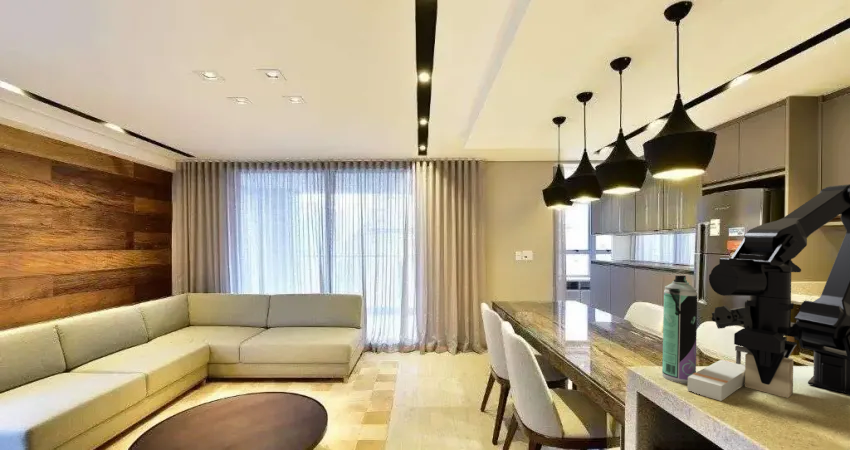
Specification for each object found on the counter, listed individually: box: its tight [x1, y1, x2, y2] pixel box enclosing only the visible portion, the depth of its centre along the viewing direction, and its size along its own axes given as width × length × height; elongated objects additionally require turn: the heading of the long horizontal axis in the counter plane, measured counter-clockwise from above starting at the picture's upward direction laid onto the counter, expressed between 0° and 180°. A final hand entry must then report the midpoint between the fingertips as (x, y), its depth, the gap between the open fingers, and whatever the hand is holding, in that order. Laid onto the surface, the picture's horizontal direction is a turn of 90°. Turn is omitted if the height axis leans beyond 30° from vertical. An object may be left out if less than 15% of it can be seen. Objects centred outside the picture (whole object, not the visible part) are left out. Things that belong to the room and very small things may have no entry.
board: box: [687, 359, 745, 402], centre depth 74 cm, size 18×5×3 cm, turn 128°
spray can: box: [661, 275, 698, 384], centre depth 77 cm, size 6×6×20 cm
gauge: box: [734, 345, 794, 399], centre depth 73 cm, size 4×8×7 cm, turn 38°
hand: (768, 381), depth 73 cm, fingers closed on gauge, 4 cm apart
